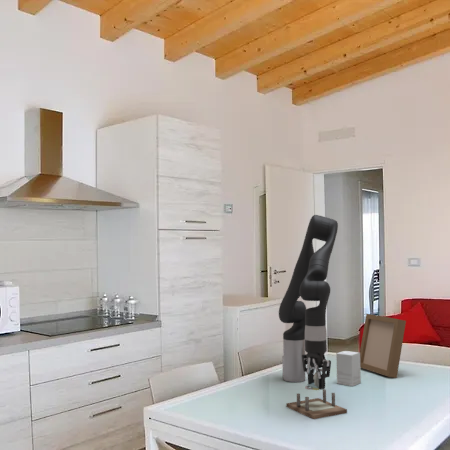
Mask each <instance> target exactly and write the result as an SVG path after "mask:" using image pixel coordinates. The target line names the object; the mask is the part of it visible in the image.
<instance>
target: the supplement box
mask: <svg viewBox="0 0 450 450" xmlns="http://www.w3.org/2000/svg"><path fill="white" fill-rule="evenodd" d="M335 356H336V384H337V385H344V386H349V387H354V386H357V385H359V384H361V383H362V380H361V379H362V377H361V373H362V372H361V368H360V352H357V351H349V350H343V351H339V352H337V353H336V355H335Z"/></svg>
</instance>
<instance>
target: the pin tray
mask: <svg viewBox="0 0 450 450" xmlns="http://www.w3.org/2000/svg"><path fill="white" fill-rule="evenodd" d="M285 407H286V408H288V409H290V410H293V411H295V412H296V413H299V414H301V415H304V416H305V417H308V418H310V419H311V420H316V419H322V418H323V419H324V418H329V417H334V416H339V415H343V414H348V409H346V408H344V407H342V406H340V405H337V404H336V392H331V402H329V401H327V389H326V388H325V389H322V399H321V398H320V397H317V398H312V399H310V398H309V396H305V397H304V400H301V393H296V401H292V402H286V405H285Z"/></svg>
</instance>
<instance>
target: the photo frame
mask: <svg viewBox="0 0 450 450" xmlns="http://www.w3.org/2000/svg"><path fill="white" fill-rule="evenodd" d="M406 323H407V320H404V319H398V318H394V317H388V316H381V315H376V314H370V313H366V314H365V320H364V324H363V325H364V327H363V333H362V338H361V342H360V349H359V353H360V369H361V368H362V369H364V370H368V371H370V372H373V373H377V374H380V375H382V376H384V377H385V376H386V377H389V378H395V379H397V378H398V374H399V373H398V372H399V367H400V361H401V355H402V348H403V344H404V343H403V342H404V335H405V330H406Z"/></svg>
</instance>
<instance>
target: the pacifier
mask: <svg viewBox="0 0 450 450" xmlns="http://www.w3.org/2000/svg"><path fill="white" fill-rule="evenodd" d="M318 378H319V377H318V373H317V372H316V371H315V372H314V377H313V379H314V383H312V384H308V383H307V384H306V386H305V387H304V389H306V390H312V391H320V389H319V383H318Z"/></svg>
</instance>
